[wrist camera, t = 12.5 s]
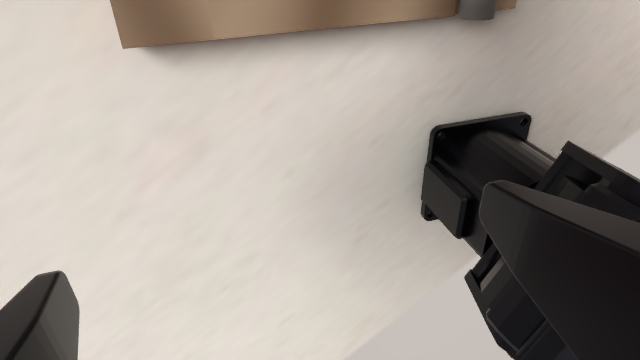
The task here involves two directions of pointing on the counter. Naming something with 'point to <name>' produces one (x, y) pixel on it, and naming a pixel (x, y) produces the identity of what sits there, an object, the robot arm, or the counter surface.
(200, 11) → the shelf frame
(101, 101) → the counter surface
